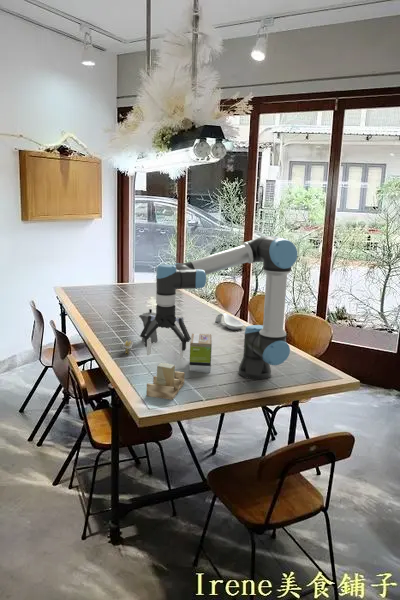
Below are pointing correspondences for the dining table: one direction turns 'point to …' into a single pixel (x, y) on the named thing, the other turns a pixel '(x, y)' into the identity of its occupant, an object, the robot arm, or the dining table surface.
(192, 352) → the tea box
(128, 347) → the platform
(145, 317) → the coffeepot
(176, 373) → the oak rack
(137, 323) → the dining table surface
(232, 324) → the spoon rest
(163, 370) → the skincare box
